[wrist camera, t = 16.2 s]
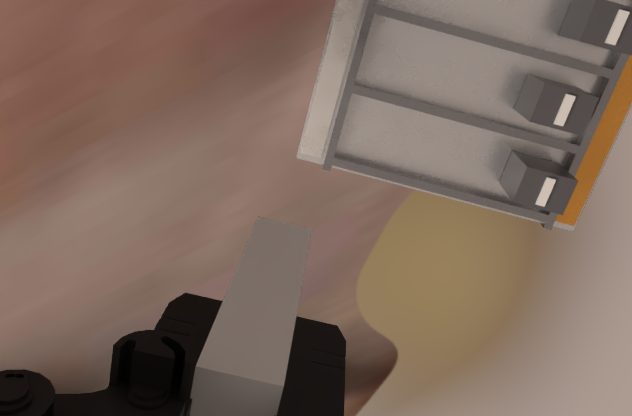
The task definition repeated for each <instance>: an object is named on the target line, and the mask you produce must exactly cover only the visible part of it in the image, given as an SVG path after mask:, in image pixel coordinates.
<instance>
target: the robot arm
mask: <svg viewBox="0 0 632 416" xmlns="http://www.w3.org/2000/svg"><path fill="white" fill-rule="evenodd" d="M311 232H312V229H309V228H305V227H301V226H297V225H292V224H288V223H284V222H279V221H275V220H271V219H266V218H262V217H258V218H257V221H256V223H255V226H254V228H253V230H252V233H251V235H250V238H249V240H248V242H247V245H246V247H245V249H244V252H243V254H242V257H241V259H240V261H239V264H238V266H237V269H236V271H235V273H234V276H233V278H232V281H231V283H230V285H229V288H228V290H227V293H226V295H225V297H224V300H223V301H219V300H215V299H211V298H206V297H202V296H197V295H193V294H189V293H184V294H183V295H181V296H179V297H178V298H176V299H174V300H173V301H171V302H170V303H169V304H168V306H167V308H166V309H165V311H164V313H163V315H162V317H161V319H160V320H159V321H158V323H157V325H156V327H155V330H145V331H137V332H133V333H131V334H128V335H126V336H124V337H122V338H121V339H120V340H119V341H117V342H116V343H115V344H114V345H113V354H112V363H111V372H110V382H109V386H108V388H107V389H105V390H101V391H97V392H93V393H84V394H55V389H54V387H53V385H52V383H51V381H50V380H48V379H47V378H45V377H44V376H43V375H41V374H40V373H36V372H32V371H28V370H5V371H1V372H0V416H344V390H345V356H346V340H345V338H344V337H343V335H342V333H341V331H340V330H339V328H338V326H336V325H332V324H327V323H323V322H318V321H314V320H310V319H305V318H301V317H297V310H298V305H299V299H300V293H301V288H302V282H303V277H304V271H305V266H306V260H307V254H308V249H309V243H310V238H311Z"/></svg>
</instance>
